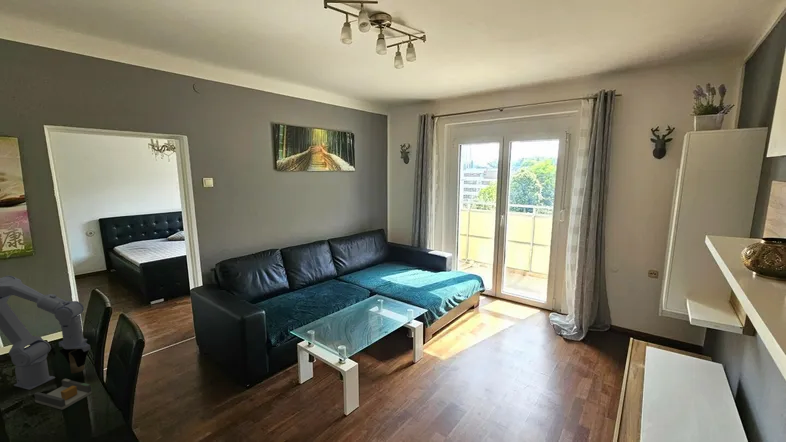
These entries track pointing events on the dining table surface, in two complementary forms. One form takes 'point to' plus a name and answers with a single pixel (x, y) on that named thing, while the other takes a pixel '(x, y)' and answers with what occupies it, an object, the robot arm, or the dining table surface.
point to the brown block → (74, 365)
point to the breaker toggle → (69, 392)
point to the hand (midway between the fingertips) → (77, 364)
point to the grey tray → (55, 396)
